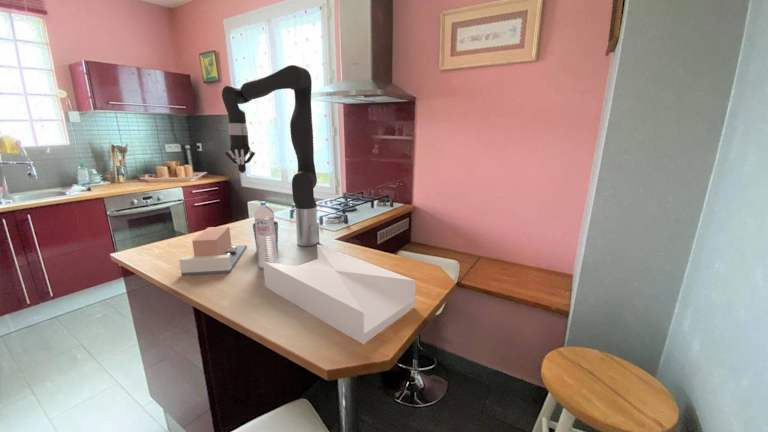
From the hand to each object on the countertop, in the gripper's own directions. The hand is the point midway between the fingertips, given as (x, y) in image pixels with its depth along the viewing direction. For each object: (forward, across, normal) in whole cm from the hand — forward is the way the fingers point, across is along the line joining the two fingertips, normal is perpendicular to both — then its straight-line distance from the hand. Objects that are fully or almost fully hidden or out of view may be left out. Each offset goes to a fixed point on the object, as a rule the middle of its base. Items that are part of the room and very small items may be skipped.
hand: (242, 172), depth 146 cm
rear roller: (+28, -5, -24) cm, 37 cm away
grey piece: (+31, -5, -29) cm, 43 cm away
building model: (+32, +40, -65) cm, 83 cm away
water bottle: (+31, +15, -38) cm, 51 cm away
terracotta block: (+27, -5, -32) cm, 42 cm away
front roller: (+28, -5, -32) cm, 43 cm away
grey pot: (+31, +12, -21) cm, 39 cm away
